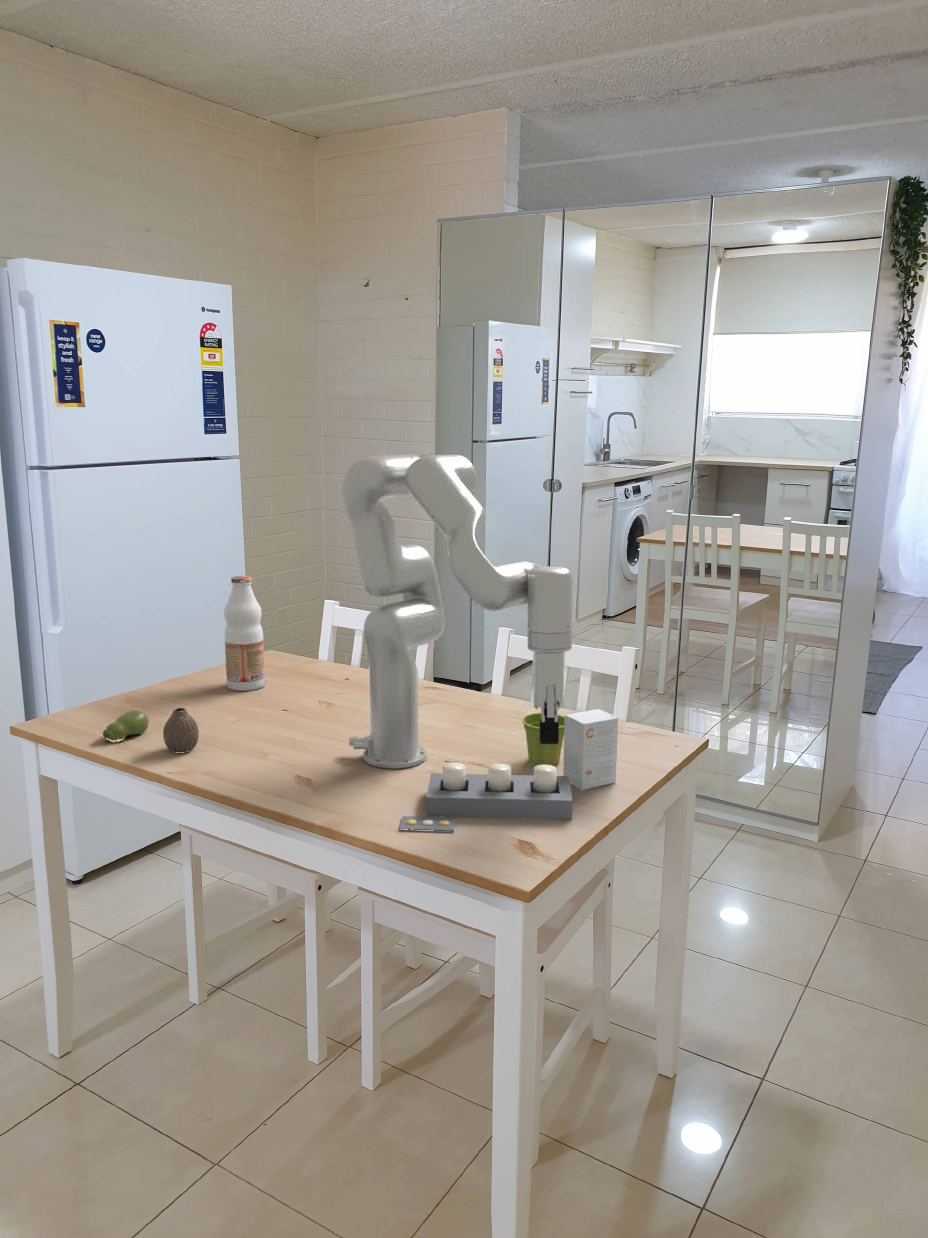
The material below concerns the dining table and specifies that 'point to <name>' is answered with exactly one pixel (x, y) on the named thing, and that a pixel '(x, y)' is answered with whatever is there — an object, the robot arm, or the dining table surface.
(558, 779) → the board
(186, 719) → the vase
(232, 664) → the fruit juice
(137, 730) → the pear
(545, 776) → the button right
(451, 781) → the button left
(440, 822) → the pattern tile
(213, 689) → the dining table surface
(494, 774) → the button mid
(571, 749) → the small box
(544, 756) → the plant pot
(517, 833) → the dining table surface
